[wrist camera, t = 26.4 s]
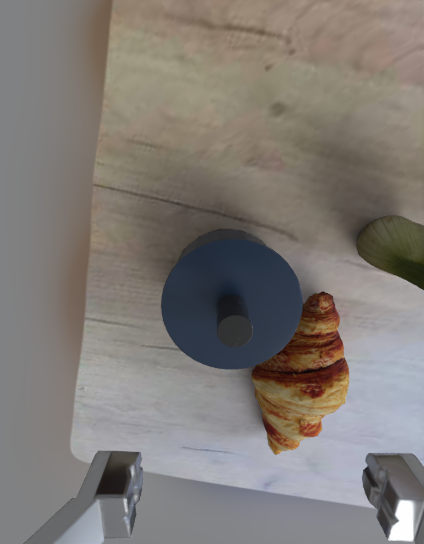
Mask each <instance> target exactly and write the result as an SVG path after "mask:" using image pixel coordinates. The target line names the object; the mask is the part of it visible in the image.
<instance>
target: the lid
mask: <svg viewBox="0 0 424 544" xmlns="http://www.w3.org/2000/svg"><path fill="white" fill-rule="evenodd" d="M302 304H303V302H302V292H301V288H300V284H299V282H298V279H297V277H296V275H295V273H294V271H293V270H292V268H291V267H290V266H289V264H288V263H287V262H286V261H285V260H284V259H283V258H282V257H281V256H280V255H279V254H278V253H276V252H275V251H274V250H272V249H271V248H269V247H267V246H265V245H263V244H261V243H258V242H255V241H252V240H247V239H240V238H225V239H218V240H214V241H210V242H207V243H205V244H202V245H200V246H198V247H196V248H195V249H193V250H191V251H190V252H189V253H187V254H186V255H185V256H184V257H183V258H182V259H181V260H180V261H179V262H178V263H177V264H176V265H175V267H174V268H173V269H172V271H171V273H170V275H169V276H168V278H167V280H166V283H165V286H164V289H163V294H162V302H161V309H162V317H163V321H164V324H165V327H166V330H167V332H168V333H169V335H170V337H171V339H172V340H173V341H174V343H175V344H176V345H177V346H178V347H179V348H180V350H181V351H183V352H184V353H185V354H186V355H188V356H189V357H191V358H192V359H194V360H195V361H197V362H200V363H202V364H204V365H207V366H210V367H214V368H219V369H242V368H247V367H251V366H255V365H257V364H260V363H262V362H264V361H266V360H268V359H270V358H271V357H273V356H274V355H276V354H277V353H278V352H279V351H281V350H282V349H283V348H284V347H285V346H286V345H287V343H288V342H289V341H290V339H291V338H292V337H293V335H294V333H295V331H296V329H297V327H298V324H299V322H300V318H301V314H302Z"/></svg>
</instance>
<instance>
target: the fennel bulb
mask: <svg viewBox="0 0 424 544" xmlns="http://www.w3.org/2000/svg"><path fill="white" fill-rule="evenodd" d="M356 247H357V251H358V254H359V255H360V256H361V257H362V258H363V259H364V260H365V261H367V262H368V263H369V264H371V265H373V266H374V267H376V268H379V269H381V270H384V271H386V272H388V273H391V274H393V275H396V276H398V277H401V278H403V279H405V280H407V281H409V282H410V283H412V284H414V285H416V286H418V287H419V288H421V289H423V290H424V226H423V225H421V224H418V223H415V222H412V221H410V220H408V219H406V218H404V217H401V216H385V217H382V218H379V219H377V220H375V221H373V222H372V223H370V224H369V225H368V226H367V227H366V228H365V229H364V230H363V231H362V232H361V234H360V235H359V238H358V241H357V244H356Z"/></svg>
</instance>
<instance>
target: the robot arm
mask: <svg viewBox="0 0 424 544" xmlns="http://www.w3.org/2000/svg"><path fill="white" fill-rule="evenodd" d="M141 460H142V457H141V452H128V451H98V452H97V453H96V455H95V456H94V459H93V461H92V463H91V466H90V468H89V470H88V473H87V475H86V477H85V479H84V482H83V484H82V486H81V489H80V491H79V493H78V496H77V498H72V499H71V500H70V501H69V502H67V504H65V505H64V506H63V507H62V508H61V509H60V510H59V511H58V512H57V513H56V514H55V515H54V516H52V517H51V518H50V519H49V520H48V521H47V522H46V523H45V524H44V525H43V526H42V527H41V528H40V529H39V530H38V531H36V532H35V533H34V534H33V535H32V536H31V537H30V538H29V539H28V540H27V541H26V542H25V543H24V544H102V543H103V542H104V539H105V538H131V534H132V530H133V526H134V522H135V517H136V509H135V505H136V504H137V503H138V501H139V500H140V496H141V491H142V484H143V468H142V467H141V466H140V464H141ZM365 461H366V463H367V465H368V467H366V468H365V469H364V470H363V475H362V481H363V488H364V491H365V494H366V496H367V498H368V500H369V502H370V503H371V504H372V505H373V506H374V507H375V508H376V509H378V511H377V519H378V521H379V523H380V525H381V527H382V529H383V531H384V533H385V535H386V537H387V539H388V540H395V541H415V544H424V466H423V465H422V464H421V462H420V461H419V460H418V458H417V457H416V456H415V455H413V454H412V453H397V454H396V453H369V454H368V455H367V456H366V460H365Z"/></svg>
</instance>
